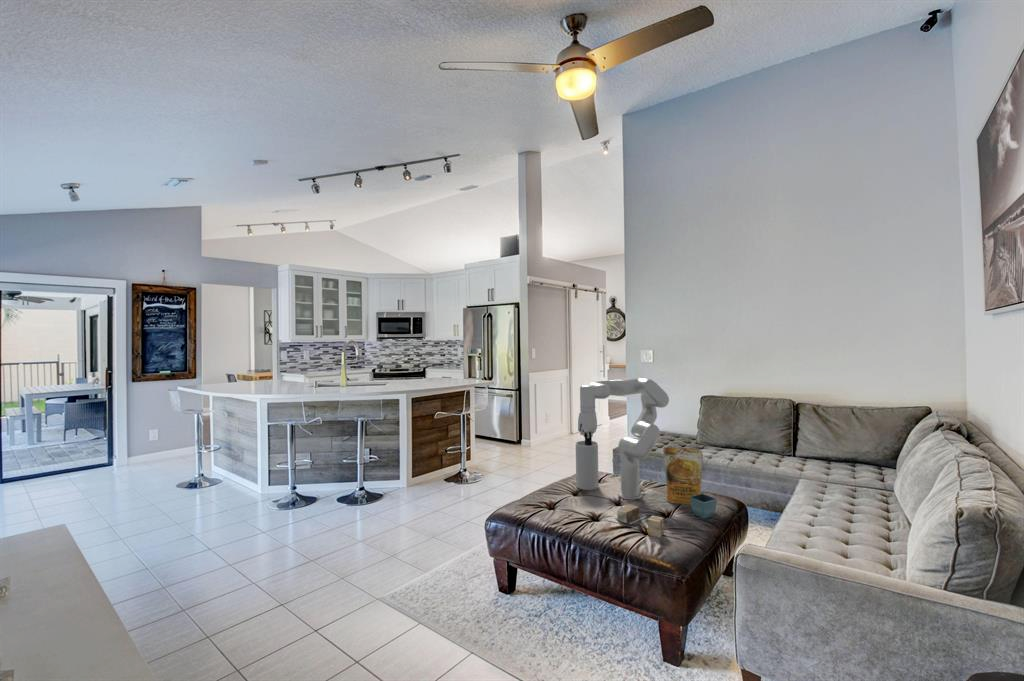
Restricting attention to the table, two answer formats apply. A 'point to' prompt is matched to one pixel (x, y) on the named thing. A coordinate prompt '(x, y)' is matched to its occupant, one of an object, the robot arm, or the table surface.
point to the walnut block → (628, 513)
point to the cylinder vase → (587, 466)
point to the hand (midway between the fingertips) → (588, 445)
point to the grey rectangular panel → (636, 519)
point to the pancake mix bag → (682, 474)
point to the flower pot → (703, 505)
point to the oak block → (655, 526)
